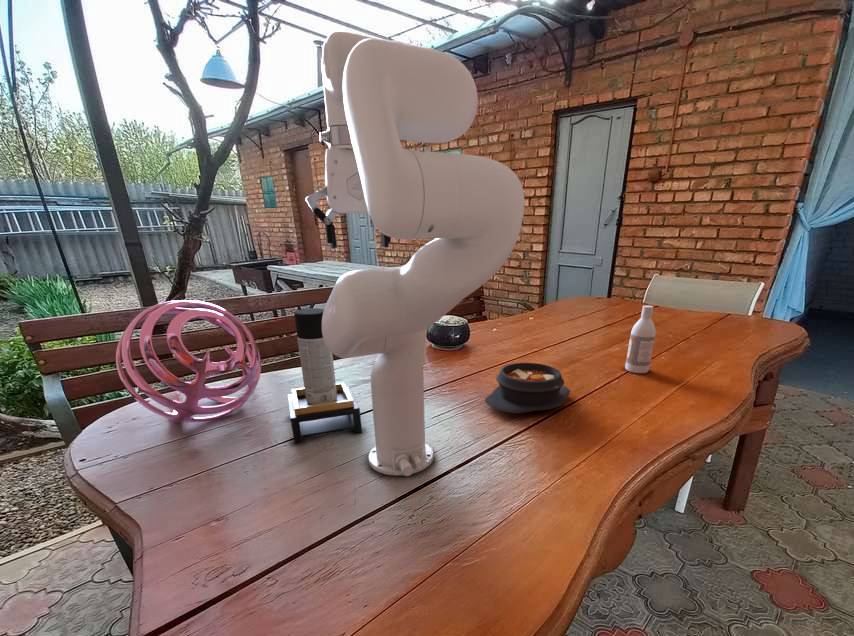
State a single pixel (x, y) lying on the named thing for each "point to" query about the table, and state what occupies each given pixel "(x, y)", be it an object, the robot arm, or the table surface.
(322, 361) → the spray can
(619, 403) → the table surface
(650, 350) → the bath foam
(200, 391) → the pink lattice ball
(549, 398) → the casserole
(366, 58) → the robot arm
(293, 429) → the stand
